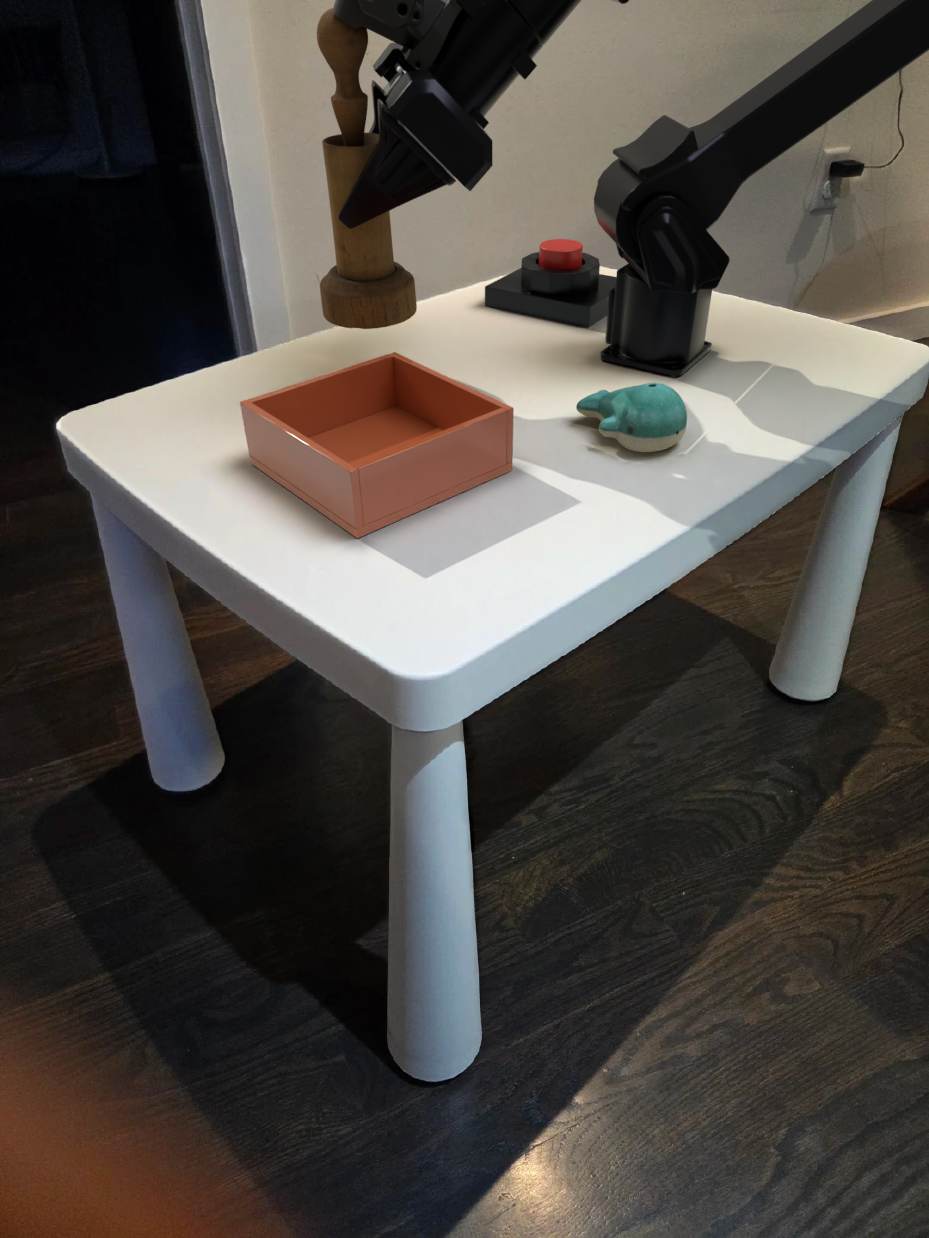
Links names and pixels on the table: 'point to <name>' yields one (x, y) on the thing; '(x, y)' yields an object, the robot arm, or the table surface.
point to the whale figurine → (639, 416)
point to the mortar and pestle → (365, 267)
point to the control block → (554, 291)
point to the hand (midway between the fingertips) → (342, 215)
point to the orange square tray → (378, 440)
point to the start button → (560, 254)
